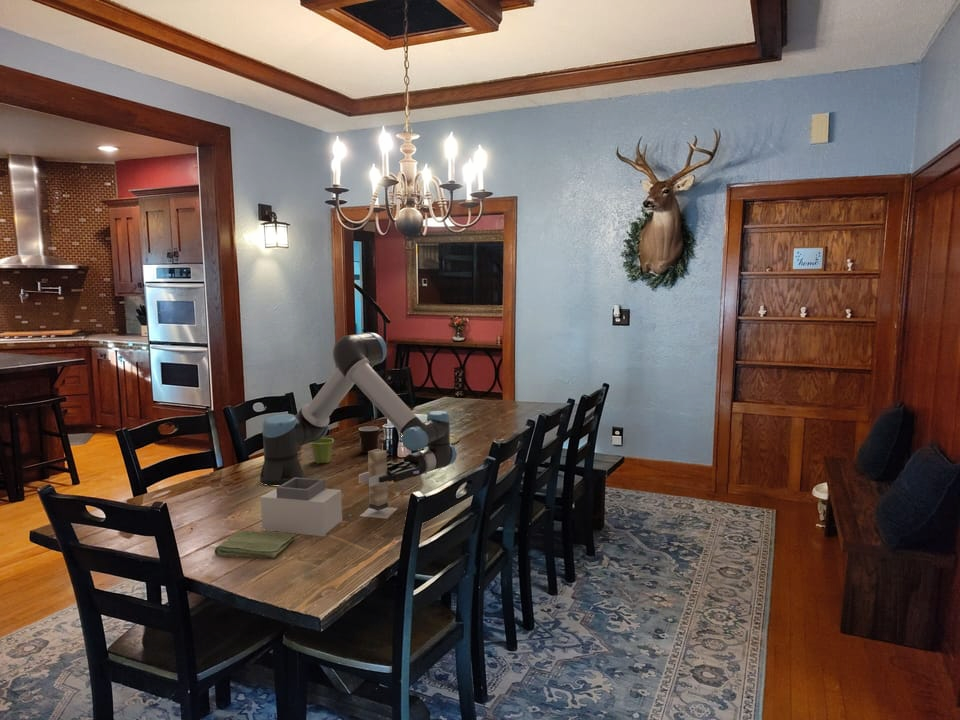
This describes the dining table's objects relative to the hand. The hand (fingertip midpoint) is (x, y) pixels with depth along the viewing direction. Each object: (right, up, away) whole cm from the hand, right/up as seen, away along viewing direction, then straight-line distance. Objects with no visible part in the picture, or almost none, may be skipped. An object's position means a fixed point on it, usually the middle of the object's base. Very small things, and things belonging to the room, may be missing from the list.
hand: (364, 480), depth 188 cm
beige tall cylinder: (+3, -9, +5) cm, 11 cm away
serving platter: (+8, -1, +96) cm, 96 cm away
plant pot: (-29, -5, +63) cm, 69 cm away
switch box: (-18, -13, -4) cm, 22 cm away
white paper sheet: (+3, -11, +6) cm, 13 cm away
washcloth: (-26, -15, -19) cm, 36 cm away
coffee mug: (-12, -3, +79) cm, 80 cm away
